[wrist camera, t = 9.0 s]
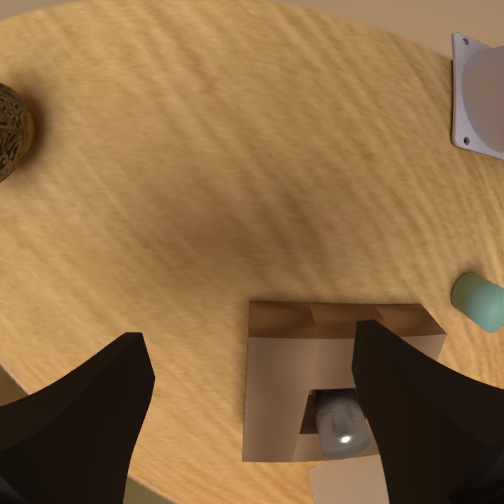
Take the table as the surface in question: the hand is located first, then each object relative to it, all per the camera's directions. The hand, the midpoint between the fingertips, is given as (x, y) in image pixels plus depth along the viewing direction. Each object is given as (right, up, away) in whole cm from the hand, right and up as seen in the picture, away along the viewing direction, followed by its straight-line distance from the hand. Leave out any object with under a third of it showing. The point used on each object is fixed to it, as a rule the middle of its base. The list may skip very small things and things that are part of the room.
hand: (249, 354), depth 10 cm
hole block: (+6, -6, +12) cm, 14 cm away
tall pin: (+6, -6, +12) cm, 14 cm away
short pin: (+16, 0, +9) cm, 19 cm away
